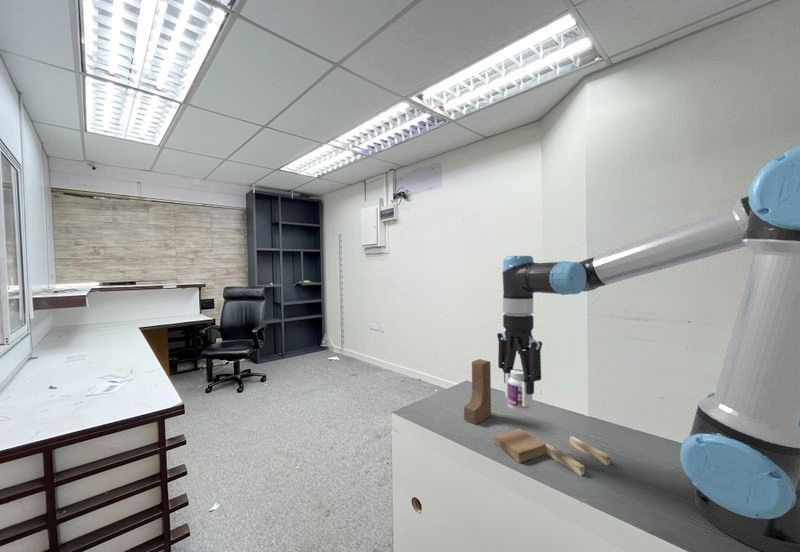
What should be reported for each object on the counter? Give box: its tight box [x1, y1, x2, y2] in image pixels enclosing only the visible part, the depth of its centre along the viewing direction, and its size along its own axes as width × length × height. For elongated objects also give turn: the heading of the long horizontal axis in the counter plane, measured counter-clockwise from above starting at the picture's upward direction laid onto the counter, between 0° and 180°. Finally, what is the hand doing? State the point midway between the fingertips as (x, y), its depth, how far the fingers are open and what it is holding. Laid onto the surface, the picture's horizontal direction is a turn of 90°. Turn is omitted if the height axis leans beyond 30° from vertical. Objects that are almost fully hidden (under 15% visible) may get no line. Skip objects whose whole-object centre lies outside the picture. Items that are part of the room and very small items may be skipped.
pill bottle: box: [507, 368, 530, 412], centre depth 82 cm, size 5×5×10 cm
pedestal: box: [493, 428, 547, 464], centre depth 82 cm, size 9×9×2 cm
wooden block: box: [463, 358, 492, 425], centre depth 99 cm, size 9×4×18 cm, turn 131°
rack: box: [545, 436, 611, 476], centre depth 77 cm, size 10×10×2 cm
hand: (518, 400), depth 82 cm, fingers closed on pill bottle, 5 cm apart
